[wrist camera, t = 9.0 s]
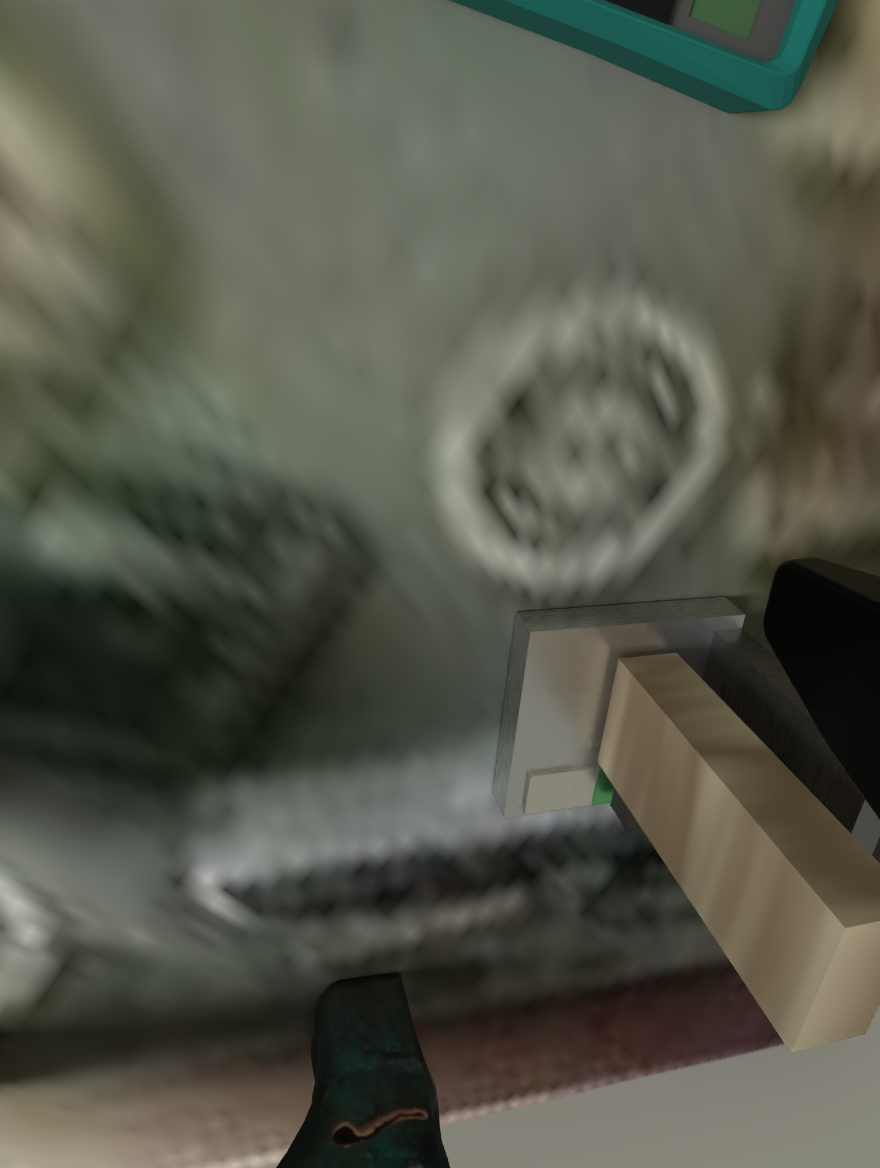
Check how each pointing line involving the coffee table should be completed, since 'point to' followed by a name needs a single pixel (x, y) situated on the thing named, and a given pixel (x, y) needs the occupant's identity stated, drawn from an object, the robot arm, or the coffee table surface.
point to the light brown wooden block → (747, 850)
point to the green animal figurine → (368, 1084)
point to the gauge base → (583, 690)
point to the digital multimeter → (688, 42)
